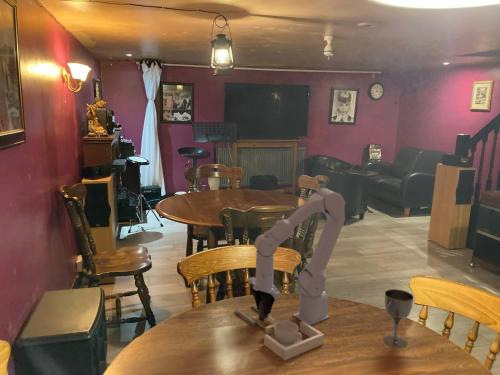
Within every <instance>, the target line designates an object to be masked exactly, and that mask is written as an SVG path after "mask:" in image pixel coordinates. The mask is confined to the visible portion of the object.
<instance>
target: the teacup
mask: <svg viewBox="0 0 500 375" xmlns="http://www.w3.org/2000/svg"><path fill="white" fill-rule="evenodd" d="M269 336H270V337H272V338H273V339H274V340H276V341H277V342H278V343H280V344H281V345H282V346H284V347H285V348H286V347H289V346H291V345H294V344H296V343H299V342H301V341H303V338H302V337H303V335H302V332H301V331H299V325H298V324H297V323H296V322H294V321H292V322H291V321H283V320H278V321H276V323H275V324H274V332H273V333H271V334H269Z"/></svg>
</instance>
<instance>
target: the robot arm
mask: <svg viewBox="0 0 500 375" xmlns="http://www.w3.org/2000/svg"><path fill="white" fill-rule="evenodd" d="M346 204H347V203H346V201H345V199H344V198H343V196H342V195H341V194H340V193H338V192H335V191H333V190H330V189H329V188H326V187H321V188H319V189H318V190H317V191H316V192H314V193H312V194H311V195H310V196H309V198H308V199H307V200H306V201H305V202H304V203H303V204H302V205H301V206H300V207H299V208H298V209H296V211H294V212H293V213H292V214H291V215H290V216H289V217H288V218H287V219H284V218H283V219H280V220H276V221H275V223H274V224H275V225H273V226H272V227H271V228H270V229H268V231H267V230H266V231H264V232H263V234H260V235H258V236H257V237H256V238H255V240H254V242H253V246H254V248H255V249H256V254H255V255H256V257H255V277H254V276H253V277H249V278H248V284H249V285H253V286H252V288H251V289H250V292H251V294H252V296H253V298H254V302H255V305H256V306H257V310H259V302H260V301H262V302H263V311H264V314H265V315H267V314H270V315H271V312H272V308H273V305H274V303H275V301H276V300H279V299H281V297H282V294H281V291H279V290H278V288H277V286H276V285H275V284H274V270H275V269H274V266H275V265H274V264H275V263H274V262H275V259H274V258H275V256H274V255H275V254H276V253H277V250H278V247H279V246H280V245H281V244H282V243H284V242H285V241H286V240H287V239H288V238H289V237H291V235H293V234H294V232H295V231H294V230H295V228H296V227H298V225H300V224H301V223H302V222H304V220H306V219H308V218H309V217H310V216H312V215H314V214H315V213H319V214H321V213H323V214H324V216H325V217H326V221H325V224H324V226H323V229H322V230H321V234H320V236H319V239H318V241H317V244H316V246H315V249H314V251H313V254H312V256H311V259H310V261H309V262H307V263H306V264H305V265H304V267H303V269H302V270H301V271H300V272H299V274H298V275H297V282H298V284H299V286H300V289H299V302H298V304H299V306H298V312H295V313H293V315H292V316H293V317H295V318H297V319H298V320H300V322H301V321H303V322H305V323H307V324H308V325H310V326H311V325H314V324H316V323H319V322H321V321H324V320H326V319H329V318H330V316H329V315H328V309H329V297H328V294H327V292H326V291H325V290H326V280H327V274H326V267H327V266H328V263H329V261H330V259H331V256H332V254H333V251H334V249H335V245H336V243H337V241H338V239H339V236H340V234H341V231H342V229H343V226H344V224H345V221H346V215H345V214H346V213H345V212H346V211H345V207H346ZM257 310H256V311H257Z"/></svg>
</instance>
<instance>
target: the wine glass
mask: <svg viewBox="0 0 500 375" xmlns="http://www.w3.org/2000/svg"><path fill="white" fill-rule="evenodd" d="M413 304H414V296H413V294H412V293H410V292H409V291H406V290H402V289H397V288H392V289H387V290H385V292H384V306H385V307H384V308H385V311H386V313H387V315H388V316H389V317H390V318H391V320H392V321H393V323H394V324H393V326H394V333H393V334H385V335H384V336H383V337H382V341H383V342H384V343H385V344H387V345H388V346H390V347H394V348H405V347H407V346H408V341H407V339H406V338H404V337H402V336H400V335H398V331H399V330H398V328H399V325H400V323H402V321H403V320H405V319H406V318H408V317H409V316H410V314H411V311H412V308H413Z"/></svg>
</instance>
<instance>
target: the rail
mask: <svg viewBox="0 0 500 375" xmlns="http://www.w3.org/2000/svg"><path fill="white" fill-rule="evenodd" d="M250 306H251V308H252V309H253V310H255V311H257V313H259V310H257V306H256V303H252V304H251V305H250ZM234 310H235V311H234V312H235V313H236V314H237V315H239V316H240V317H241V318H242V319H244V320H245V321H247V322H248V323H249V324H250V325H252V326H257V323H256V321H254V320H253V319H252V317H250V316H249V315H247V313H244V312H243V311H242V310H240V309H239V308H235V309H234ZM269 316H270V317H271V318H273V317H274V316H273V315H271V313H270V314H269ZM273 319H274V318H273Z"/></svg>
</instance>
